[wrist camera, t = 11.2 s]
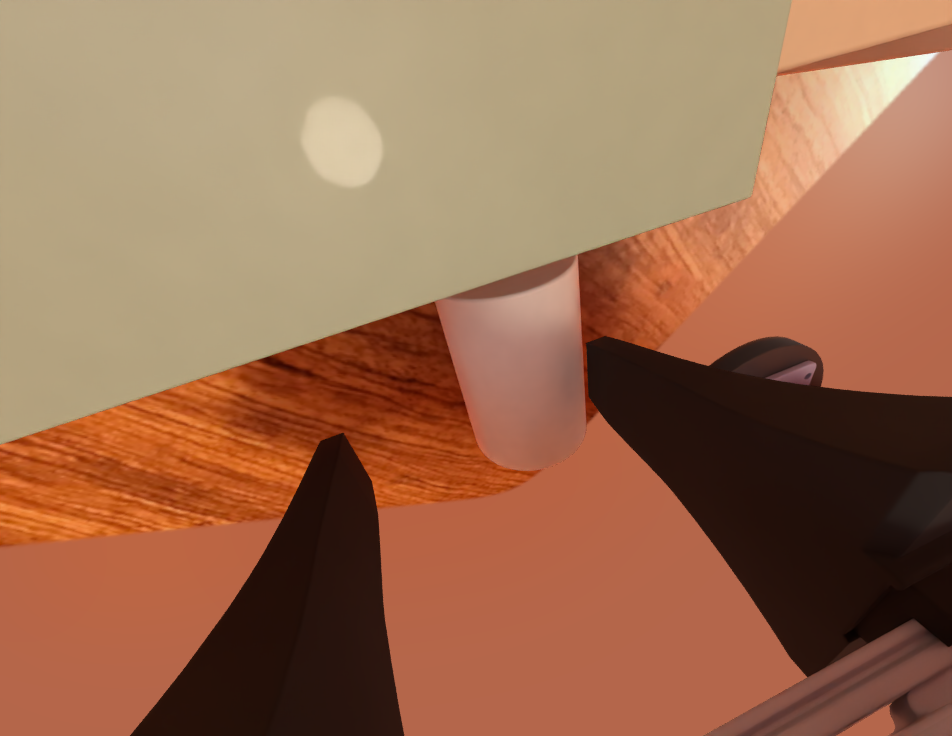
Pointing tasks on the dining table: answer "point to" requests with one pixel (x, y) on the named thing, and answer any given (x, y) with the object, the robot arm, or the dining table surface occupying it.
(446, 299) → the paper towel roll
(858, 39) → the drawer
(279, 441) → the dining table surface
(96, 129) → the cabinet
